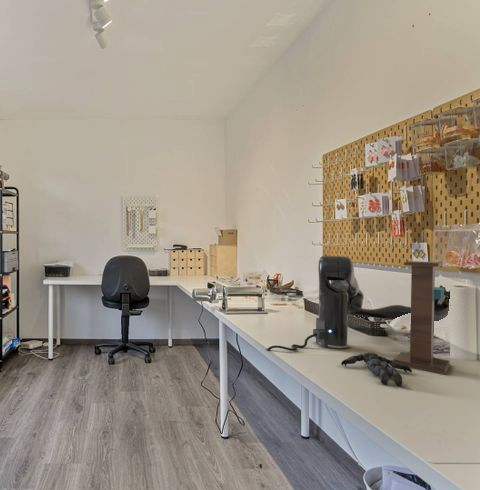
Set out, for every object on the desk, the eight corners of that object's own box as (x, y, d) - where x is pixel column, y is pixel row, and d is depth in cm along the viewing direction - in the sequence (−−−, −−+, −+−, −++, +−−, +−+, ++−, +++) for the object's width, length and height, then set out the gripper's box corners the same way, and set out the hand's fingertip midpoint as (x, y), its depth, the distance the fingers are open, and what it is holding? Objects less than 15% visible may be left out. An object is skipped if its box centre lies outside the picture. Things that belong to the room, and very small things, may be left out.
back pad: (440, 299, 115) (440, 290, 115) (412, 296, 121) (412, 287, 121) (447, 293, 128) (447, 285, 128) (421, 291, 133) (421, 283, 133)
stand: (445, 374, 105) (447, 263, 104) (393, 364, 114) (395, 261, 113) (449, 365, 113) (451, 262, 112) (400, 356, 122) (402, 260, 121)
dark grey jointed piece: (432, 392, 93) (399, 365, 112) (433, 375, 93) (400, 351, 112) (352, 383, 99) (334, 358, 118) (353, 367, 99) (334, 345, 118)
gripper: (462, 318, 130) (459, 299, 120) (411, 312, 141) (404, 294, 131) (463, 299, 133) (460, 279, 123) (413, 295, 143) (407, 276, 133)
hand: (431, 287), depth 127 cm, fingers closed on back pad, 4 cm apart
